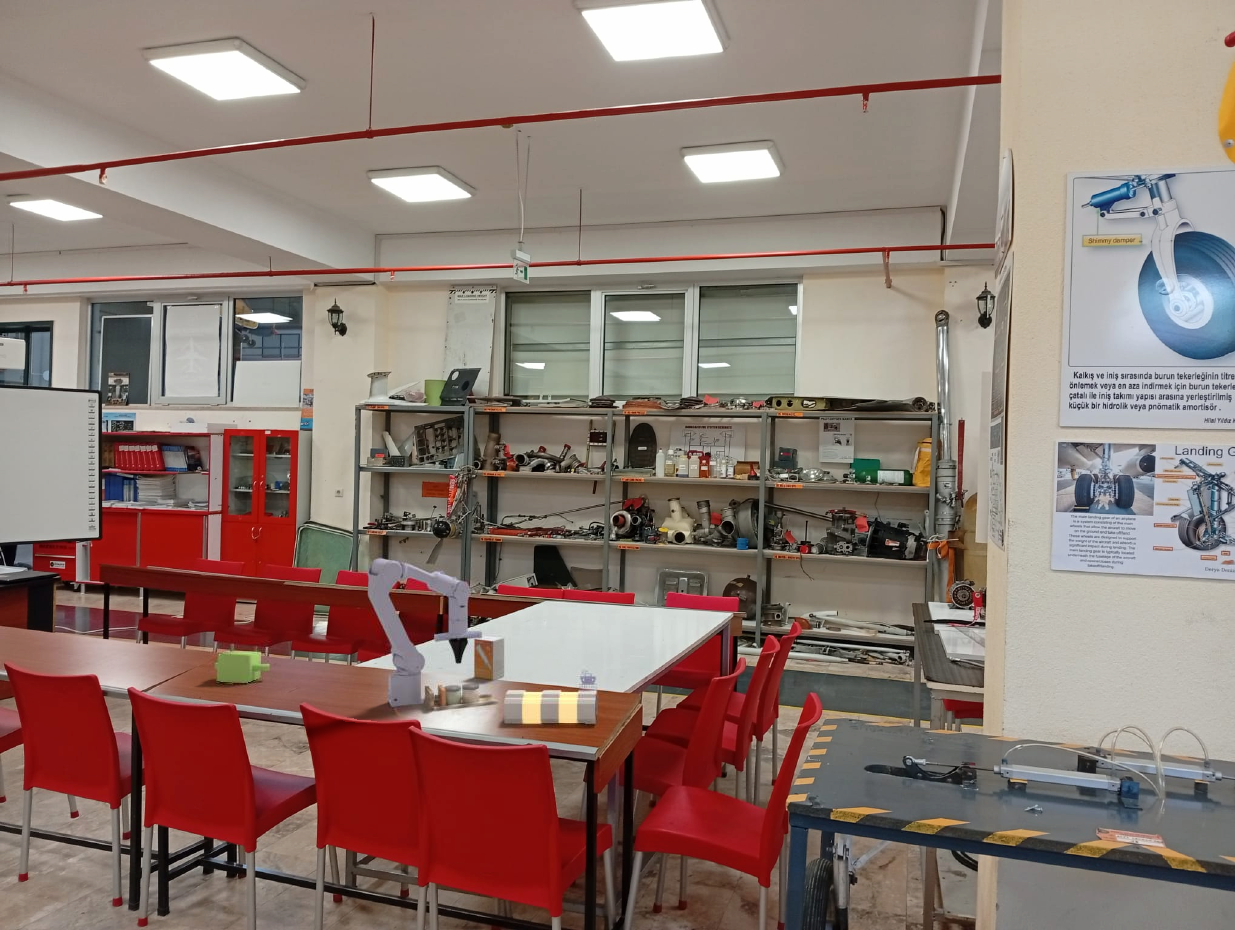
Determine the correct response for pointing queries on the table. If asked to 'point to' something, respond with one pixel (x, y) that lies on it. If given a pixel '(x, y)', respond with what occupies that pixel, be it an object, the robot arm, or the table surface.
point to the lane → (435, 706)
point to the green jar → (453, 695)
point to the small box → (489, 657)
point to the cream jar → (470, 693)
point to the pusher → (441, 695)
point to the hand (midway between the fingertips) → (458, 662)
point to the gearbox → (239, 666)
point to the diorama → (552, 705)
